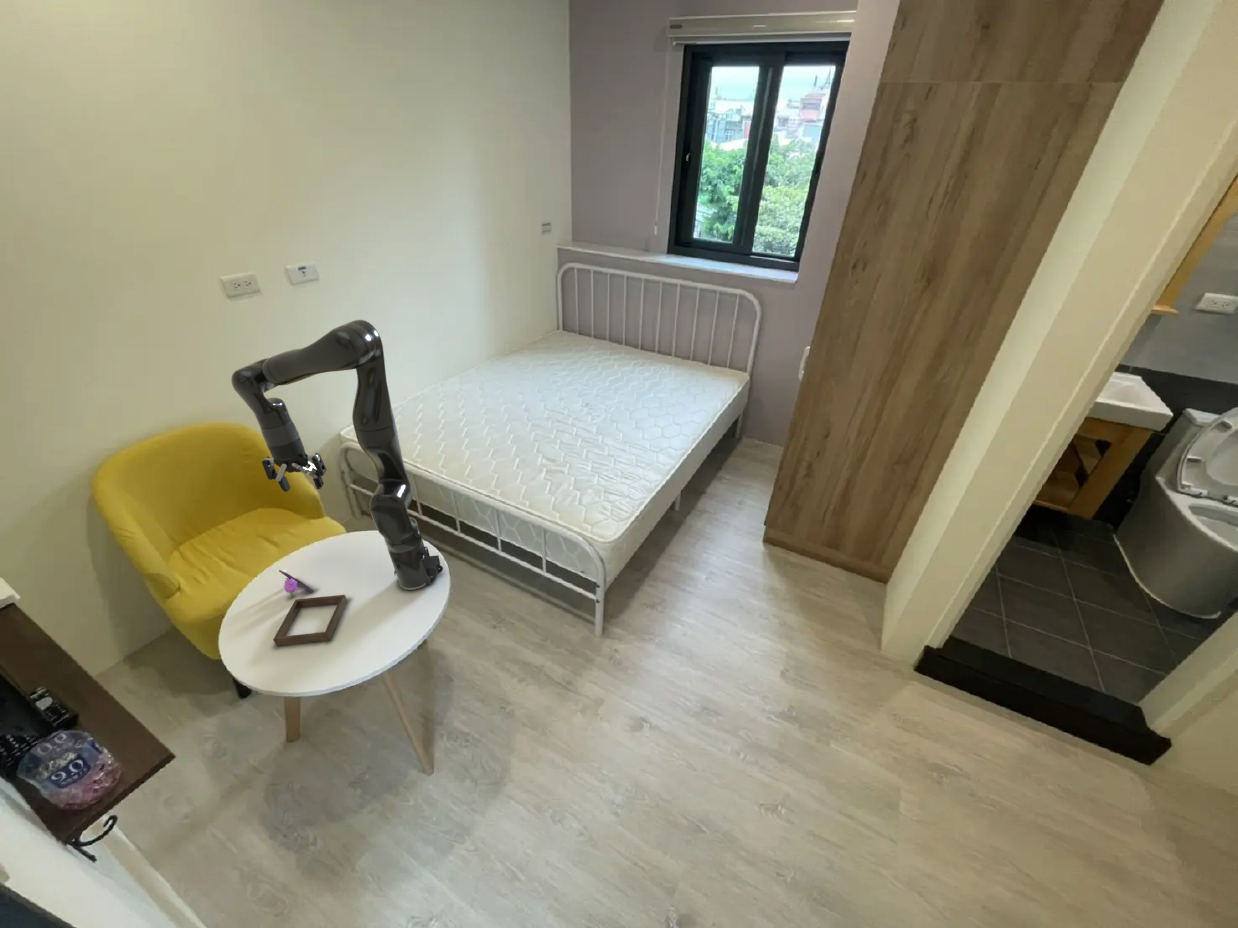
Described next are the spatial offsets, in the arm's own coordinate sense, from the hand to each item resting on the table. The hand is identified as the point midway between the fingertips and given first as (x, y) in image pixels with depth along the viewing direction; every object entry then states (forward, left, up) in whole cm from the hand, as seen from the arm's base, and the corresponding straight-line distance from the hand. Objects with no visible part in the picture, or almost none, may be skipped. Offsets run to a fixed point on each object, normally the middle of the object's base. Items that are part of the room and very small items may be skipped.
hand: (304, 488), depth 140 cm
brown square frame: (-2, +23, -28) cm, 36 cm away
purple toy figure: (+7, +10, -28) cm, 31 cm away
